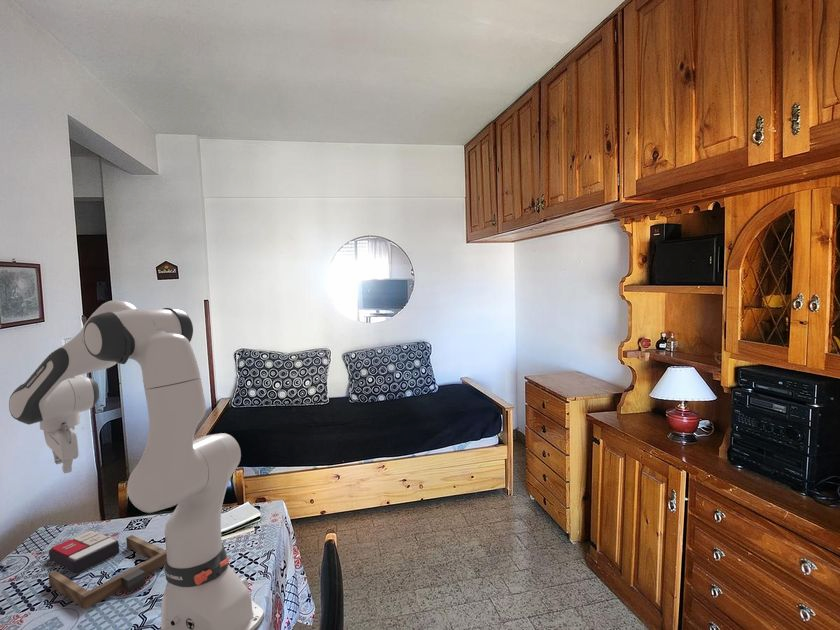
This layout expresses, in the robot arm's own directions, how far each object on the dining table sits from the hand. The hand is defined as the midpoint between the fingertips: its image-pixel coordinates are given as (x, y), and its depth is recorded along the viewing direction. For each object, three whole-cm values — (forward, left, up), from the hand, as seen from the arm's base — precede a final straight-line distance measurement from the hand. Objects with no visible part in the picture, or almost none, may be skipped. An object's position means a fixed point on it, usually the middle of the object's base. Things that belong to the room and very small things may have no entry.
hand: (63, 467), depth 128 cm
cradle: (-24, 0, -24) cm, 34 cm away
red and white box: (-7, -1, -25) cm, 26 cm away
